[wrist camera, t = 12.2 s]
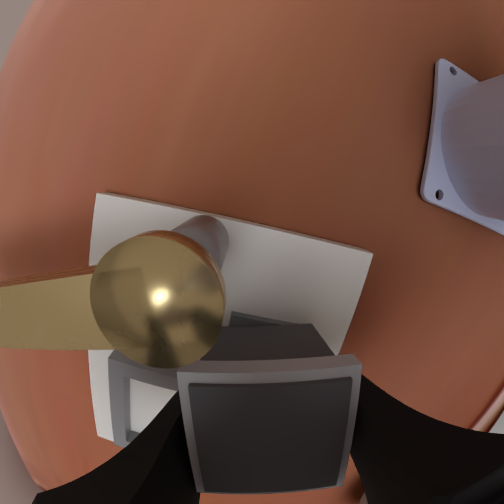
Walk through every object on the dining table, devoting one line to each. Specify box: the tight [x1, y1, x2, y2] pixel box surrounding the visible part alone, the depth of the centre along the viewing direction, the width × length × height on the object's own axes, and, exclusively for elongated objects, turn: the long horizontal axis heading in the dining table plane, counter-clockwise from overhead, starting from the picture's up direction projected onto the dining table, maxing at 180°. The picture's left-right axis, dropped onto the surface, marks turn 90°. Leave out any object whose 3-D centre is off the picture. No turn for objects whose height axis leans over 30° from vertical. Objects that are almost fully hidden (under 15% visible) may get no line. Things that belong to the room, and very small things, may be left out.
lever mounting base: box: [88, 192, 373, 448], centre depth 11 cm, size 12×15×7 cm
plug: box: [177, 323, 362, 494], centre depth 9 cm, size 5×5×6 cm
